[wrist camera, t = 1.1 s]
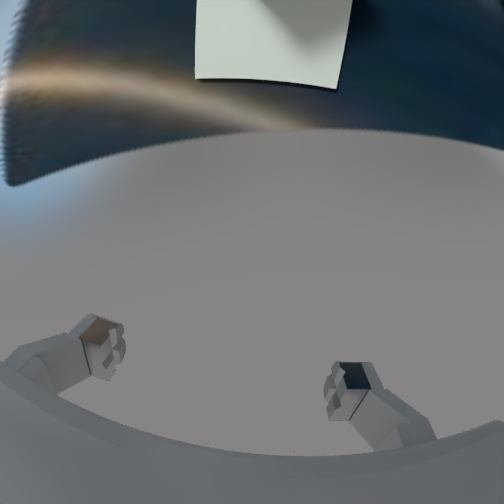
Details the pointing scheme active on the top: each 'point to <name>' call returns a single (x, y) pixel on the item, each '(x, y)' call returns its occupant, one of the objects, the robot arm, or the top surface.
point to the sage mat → (272, 40)
